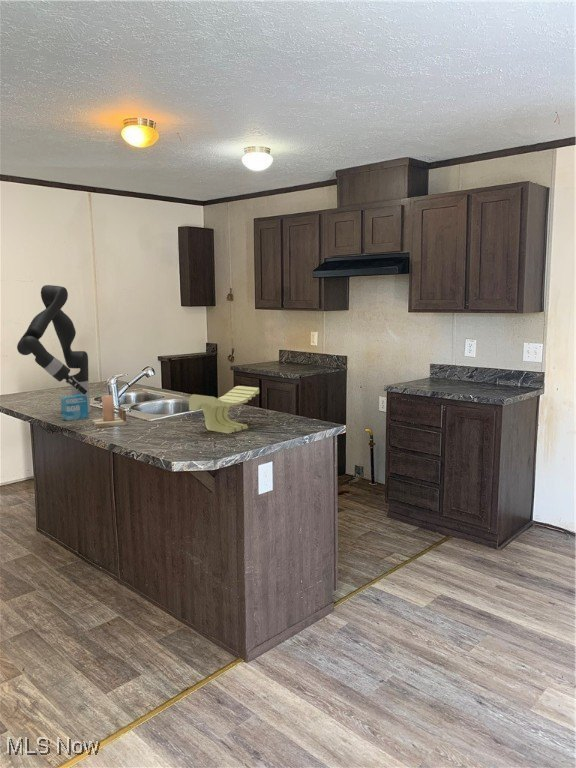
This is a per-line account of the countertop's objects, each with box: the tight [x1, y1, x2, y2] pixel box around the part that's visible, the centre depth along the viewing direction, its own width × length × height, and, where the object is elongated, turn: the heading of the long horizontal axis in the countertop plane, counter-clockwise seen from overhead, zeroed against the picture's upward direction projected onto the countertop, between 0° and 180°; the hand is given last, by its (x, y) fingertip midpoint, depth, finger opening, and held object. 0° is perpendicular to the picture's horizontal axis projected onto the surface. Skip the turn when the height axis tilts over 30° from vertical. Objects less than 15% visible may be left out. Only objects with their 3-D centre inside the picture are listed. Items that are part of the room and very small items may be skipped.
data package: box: [60, 394, 89, 422], centre depth 299 cm, size 12×4×12 cm, turn 133°
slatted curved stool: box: [188, 385, 260, 434], centre depth 271 cm, size 30×16×18 cm, turn 143°
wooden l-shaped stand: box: [92, 406, 127, 429], centre depth 285 cm, size 12×14×7 cm
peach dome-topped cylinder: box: [101, 394, 115, 421], centre depth 285 cm, size 5×5×12 cm
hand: (84, 391), depth 279 cm, fingers open, 8 cm apart
